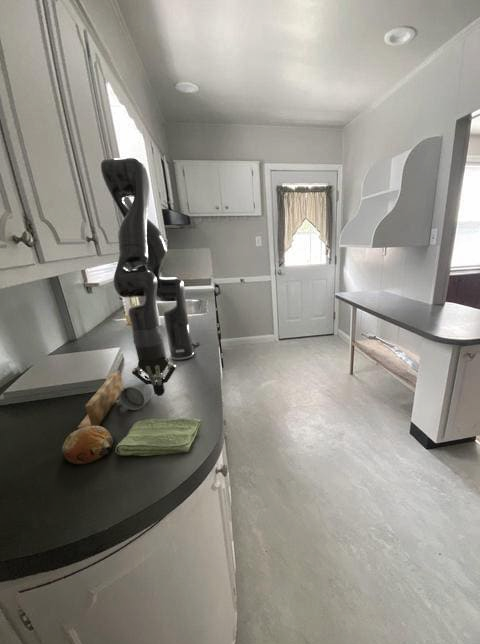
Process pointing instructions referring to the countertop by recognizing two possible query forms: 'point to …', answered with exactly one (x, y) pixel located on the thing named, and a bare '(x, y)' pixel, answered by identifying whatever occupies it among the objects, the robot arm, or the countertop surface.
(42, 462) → the countertop surface
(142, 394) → the ceramic mug
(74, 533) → the countertop surface
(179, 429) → the washcloth
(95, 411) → the mottled tan rectangular block
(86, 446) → the bread roll
